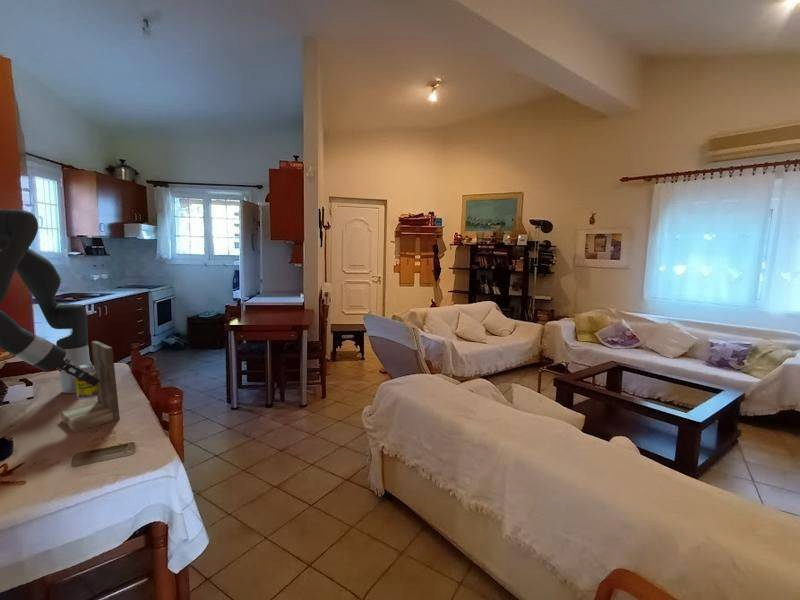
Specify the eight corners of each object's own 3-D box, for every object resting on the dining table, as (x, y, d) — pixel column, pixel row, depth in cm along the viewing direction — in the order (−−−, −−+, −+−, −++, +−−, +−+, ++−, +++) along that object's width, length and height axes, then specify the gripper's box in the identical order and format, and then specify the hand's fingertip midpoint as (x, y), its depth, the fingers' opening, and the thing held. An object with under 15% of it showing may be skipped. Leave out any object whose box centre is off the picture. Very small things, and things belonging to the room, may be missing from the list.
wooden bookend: (61, 420, 129) (52, 348, 125) (104, 408, 138) (96, 340, 134) (75, 433, 120) (66, 356, 117) (119, 419, 129) (112, 347, 126)
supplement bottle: (76, 401, 124) (72, 369, 122) (78, 395, 129) (74, 364, 127) (98, 397, 127) (95, 366, 125) (99, 392, 132) (96, 362, 130)
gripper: (58, 346, 115) (111, 375, 126) (44, 338, 123) (95, 366, 135) (36, 368, 111) (92, 396, 123) (23, 359, 120) (77, 386, 131)
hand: (93, 380), depth 128 cm, fingers closed on supplement bottle, 5 cm apart
